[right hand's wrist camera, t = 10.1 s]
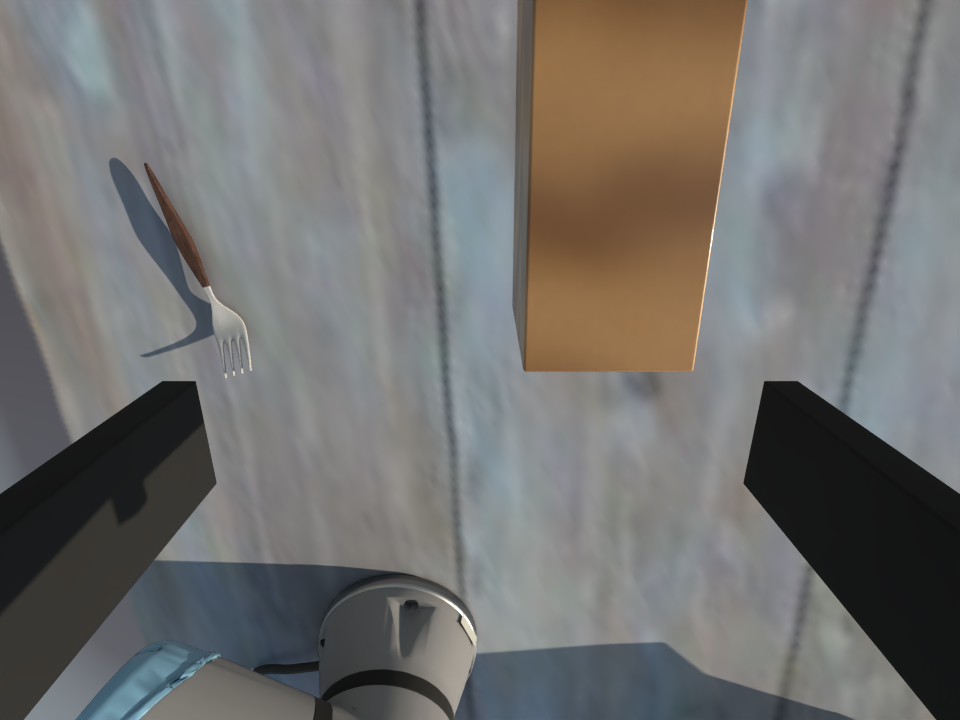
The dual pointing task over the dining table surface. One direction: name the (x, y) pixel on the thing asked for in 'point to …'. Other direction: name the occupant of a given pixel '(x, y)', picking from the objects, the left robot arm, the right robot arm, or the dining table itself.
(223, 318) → the fork
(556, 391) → the dining table surface
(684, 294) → the box
